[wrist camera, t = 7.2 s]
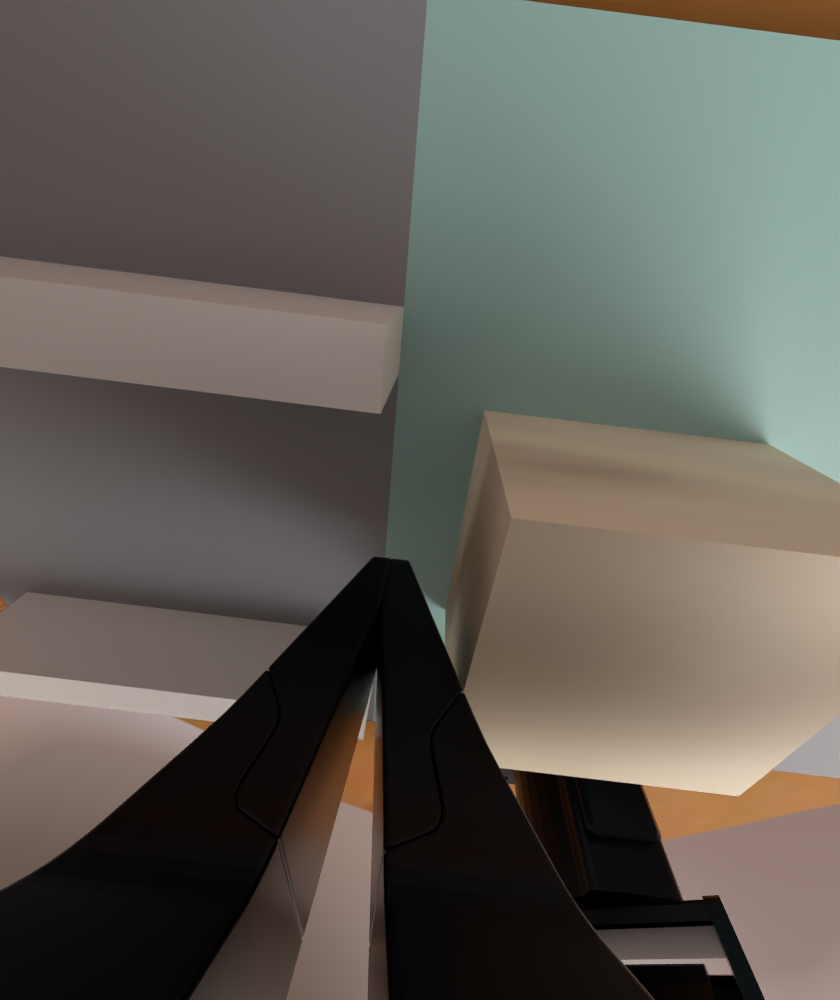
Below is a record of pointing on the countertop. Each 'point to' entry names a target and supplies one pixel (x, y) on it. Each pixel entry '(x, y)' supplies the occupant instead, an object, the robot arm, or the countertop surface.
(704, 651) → the beech block
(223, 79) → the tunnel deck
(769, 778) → the countertop surface
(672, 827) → the countertop surface
